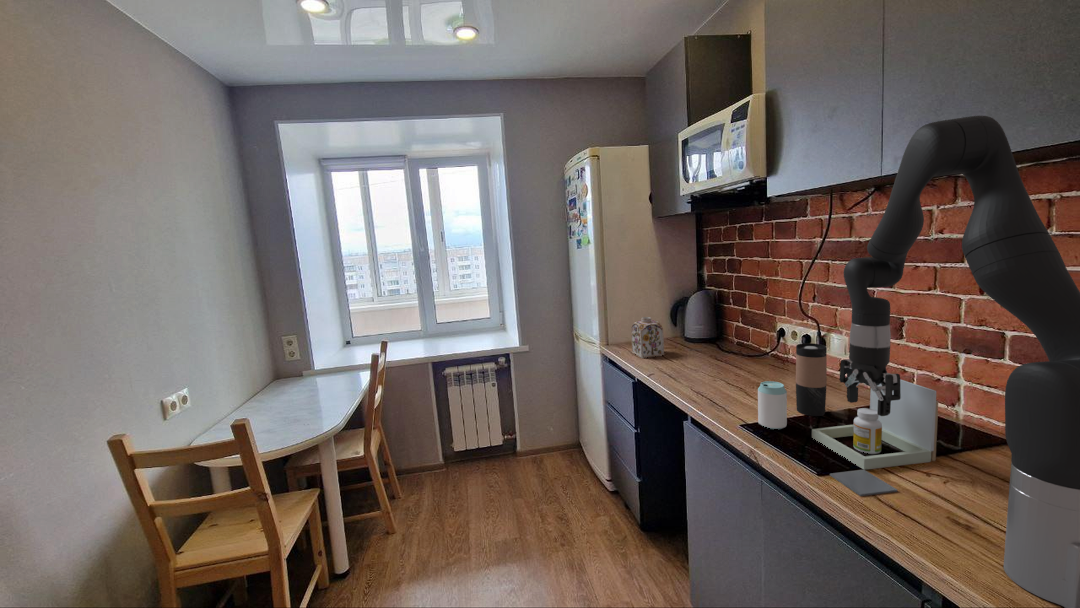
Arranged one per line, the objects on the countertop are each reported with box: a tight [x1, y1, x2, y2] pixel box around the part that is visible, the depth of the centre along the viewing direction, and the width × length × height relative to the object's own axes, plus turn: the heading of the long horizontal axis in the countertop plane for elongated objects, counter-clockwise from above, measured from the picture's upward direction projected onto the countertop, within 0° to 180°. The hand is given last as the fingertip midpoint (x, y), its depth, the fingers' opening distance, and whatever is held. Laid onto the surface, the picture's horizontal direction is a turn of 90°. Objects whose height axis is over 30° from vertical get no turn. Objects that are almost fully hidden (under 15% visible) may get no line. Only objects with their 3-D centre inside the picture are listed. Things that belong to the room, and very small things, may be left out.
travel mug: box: [795, 342, 828, 417], centre depth 124 cm, size 8×8×20 cm
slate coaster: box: [829, 469, 898, 497], centre depth 88 cm, size 8×8×1 cm
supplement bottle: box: [852, 407, 883, 455], centre depth 101 cm, size 5×5×10 cm
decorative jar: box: [630, 316, 665, 359], centre depth 202 cm, size 12×12×18 cm
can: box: [757, 380, 788, 430], centre depth 117 cm, size 7×7×12 cm
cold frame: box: [811, 378, 939, 471], centre depth 101 cm, size 16×17×16 cm
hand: (867, 408), depth 101 cm, fingers open, 8 cm apart
